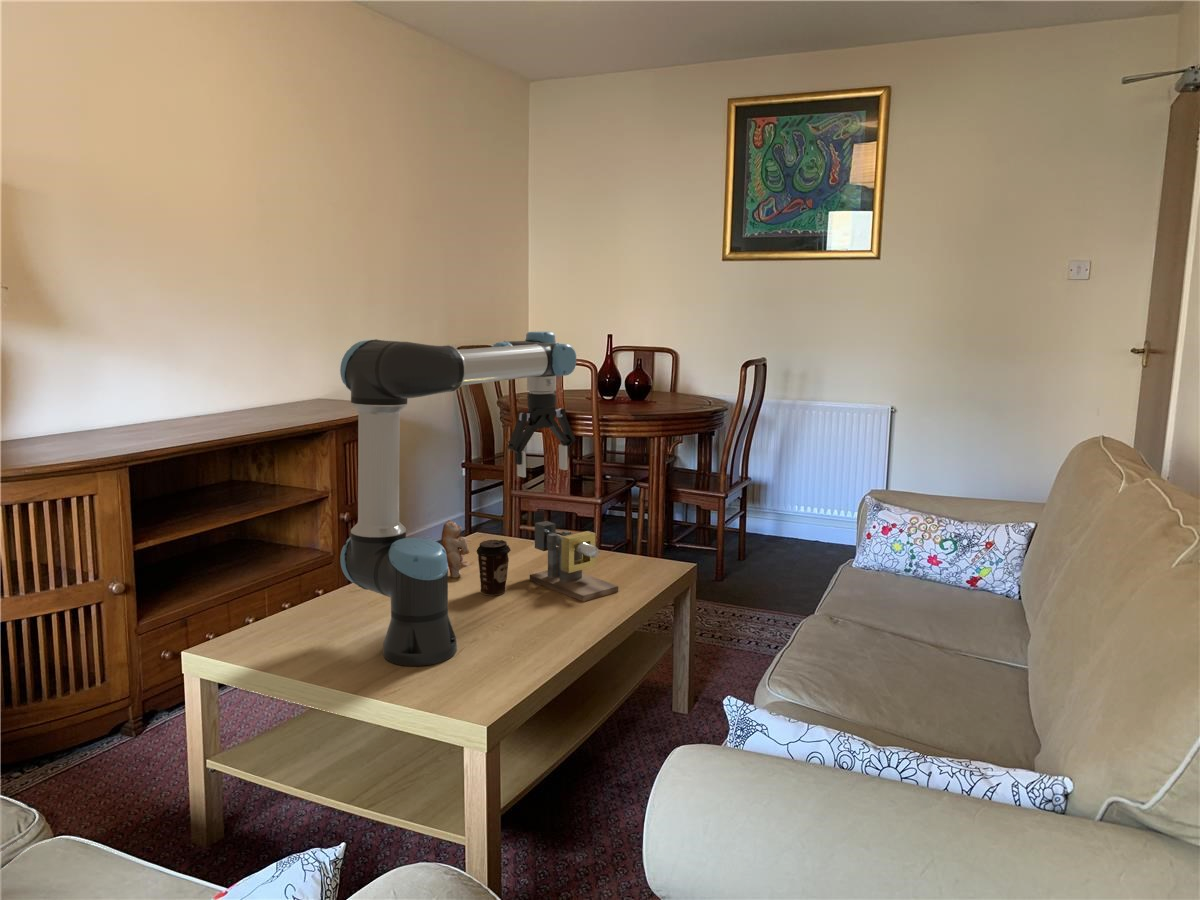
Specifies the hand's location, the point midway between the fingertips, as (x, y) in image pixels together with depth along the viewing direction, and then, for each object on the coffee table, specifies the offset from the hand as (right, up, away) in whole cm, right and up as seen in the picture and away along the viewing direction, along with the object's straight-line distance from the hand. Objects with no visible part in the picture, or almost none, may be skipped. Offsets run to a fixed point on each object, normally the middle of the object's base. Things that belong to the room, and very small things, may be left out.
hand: (542, 473), depth 220 cm
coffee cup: (-12, -31, -5) cm, 33 cm away
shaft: (+6, -22, +2) cm, 23 cm away
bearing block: (+8, -30, +1) cm, 31 cm away
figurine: (-24, -28, +9) cm, 38 cm away
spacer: (+9, -25, -1) cm, 27 cm away
